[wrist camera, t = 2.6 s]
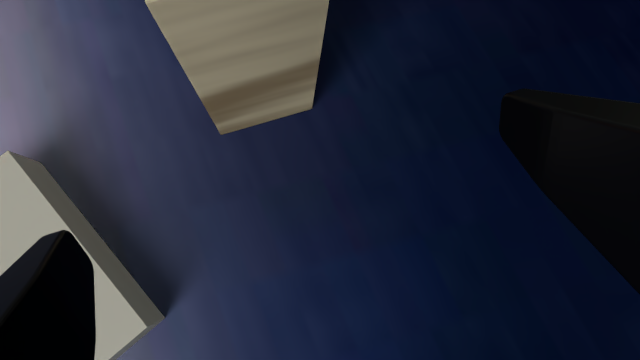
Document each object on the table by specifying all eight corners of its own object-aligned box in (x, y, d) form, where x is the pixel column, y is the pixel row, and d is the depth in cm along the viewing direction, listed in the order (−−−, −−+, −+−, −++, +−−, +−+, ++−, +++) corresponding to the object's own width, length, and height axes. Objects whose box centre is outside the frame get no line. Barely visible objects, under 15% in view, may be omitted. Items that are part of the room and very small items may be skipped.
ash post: (311, 108, 23) (336, -43, 11) (221, 135, 22) (145, 3, 11) (284, 25, 24) (279, -199, 12) (195, 48, 23) (97, -164, 11)
